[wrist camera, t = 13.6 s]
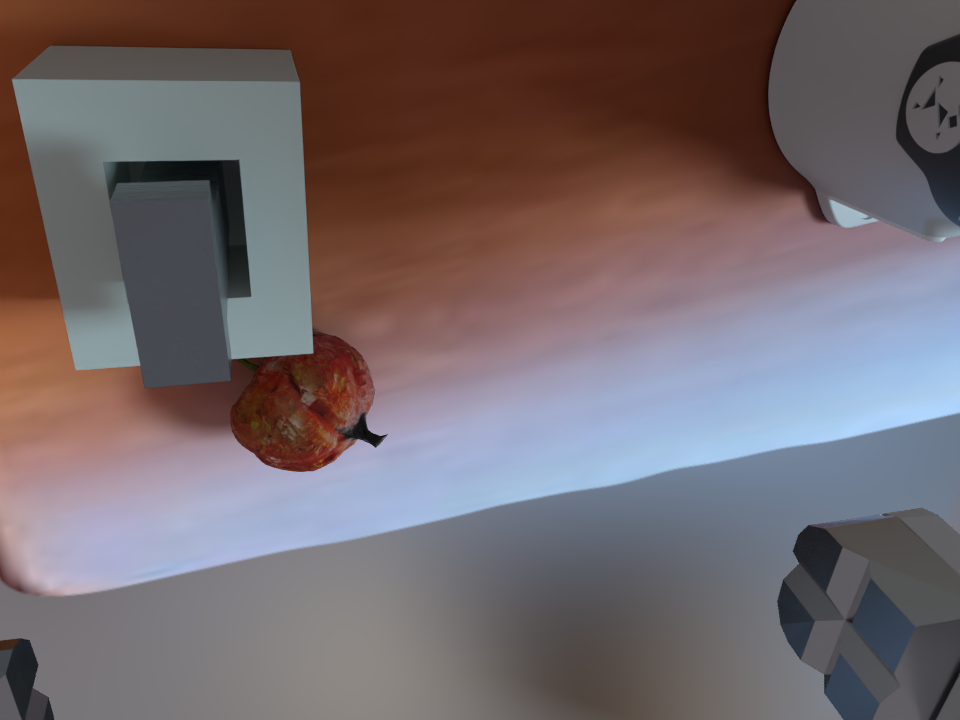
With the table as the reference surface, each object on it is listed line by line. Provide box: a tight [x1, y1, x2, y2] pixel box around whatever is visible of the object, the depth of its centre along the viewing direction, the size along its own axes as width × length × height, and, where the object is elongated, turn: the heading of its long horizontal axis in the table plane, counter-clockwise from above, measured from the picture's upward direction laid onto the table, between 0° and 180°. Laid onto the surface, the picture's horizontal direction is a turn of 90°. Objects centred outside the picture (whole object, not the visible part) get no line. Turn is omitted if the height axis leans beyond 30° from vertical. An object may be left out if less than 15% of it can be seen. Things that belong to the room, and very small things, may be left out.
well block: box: [12, 46, 313, 370], centre depth 36 cm, size 10×12×7 cm
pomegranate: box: [230, 333, 388, 472], centre depth 43 cm, size 7×7×10 cm
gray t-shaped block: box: [109, 160, 231, 388], centre depth 33 cm, size 3×7×12 cm, turn 178°
